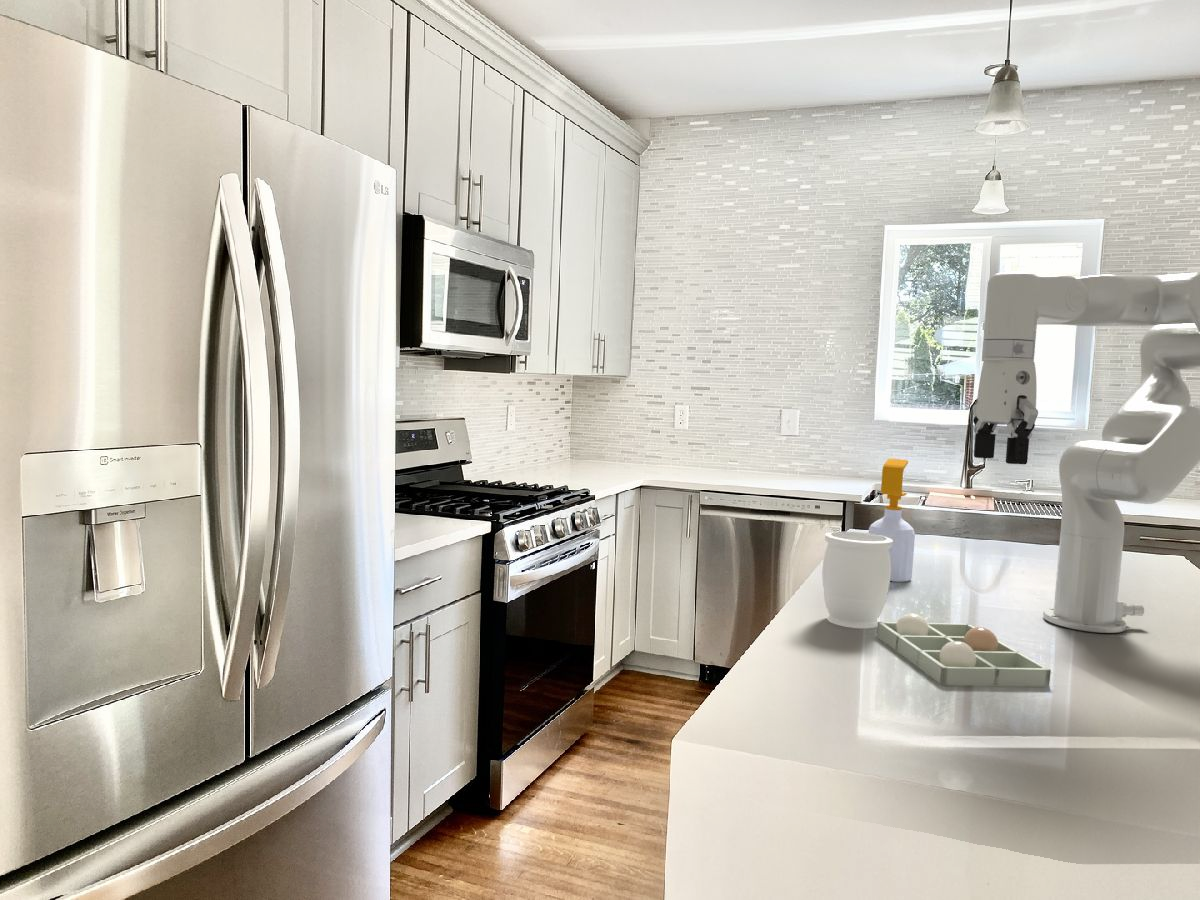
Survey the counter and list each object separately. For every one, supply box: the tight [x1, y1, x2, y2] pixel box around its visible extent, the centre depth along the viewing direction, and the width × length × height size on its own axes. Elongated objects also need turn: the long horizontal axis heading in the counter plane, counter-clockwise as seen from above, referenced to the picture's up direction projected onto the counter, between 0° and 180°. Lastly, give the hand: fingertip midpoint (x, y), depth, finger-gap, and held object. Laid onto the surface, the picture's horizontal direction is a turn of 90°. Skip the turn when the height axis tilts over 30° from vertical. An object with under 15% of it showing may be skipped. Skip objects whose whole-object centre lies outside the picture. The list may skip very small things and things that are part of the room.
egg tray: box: [876, 621, 1052, 688], centre depth 127 cm, size 15×22×3 cm
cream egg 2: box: [939, 641, 976, 667], centre depth 119 cm, size 5×5×5 cm
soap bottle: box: [868, 458, 916, 583], centre depth 184 cm, size 9×9×25 cm
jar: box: [821, 531, 893, 629], centre depth 144 cm, size 11×10×15 cm
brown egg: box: [963, 626, 999, 651], centre depth 127 cm, size 5×5×5 cm
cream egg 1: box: [896, 612, 929, 636], centre depth 133 cm, size 5×5×5 cm
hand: (999, 460), depth 142 cm, fingers open, 9 cm apart
